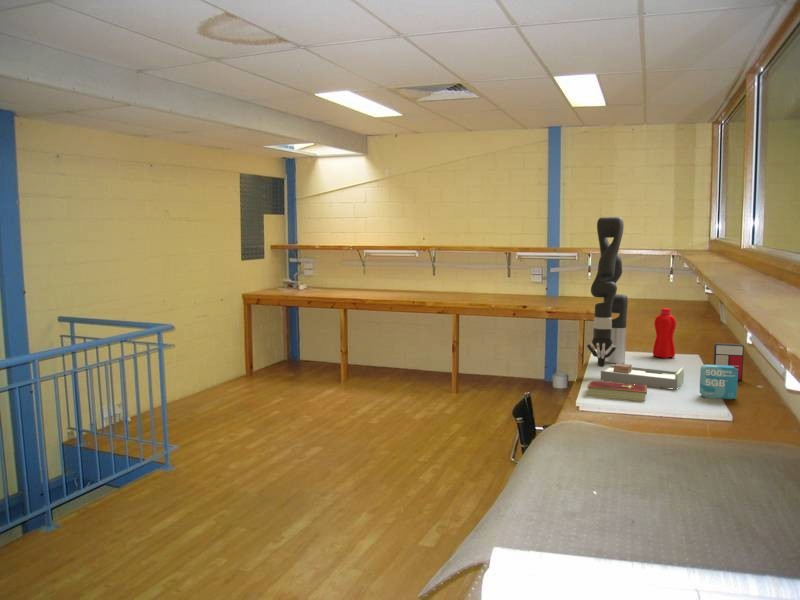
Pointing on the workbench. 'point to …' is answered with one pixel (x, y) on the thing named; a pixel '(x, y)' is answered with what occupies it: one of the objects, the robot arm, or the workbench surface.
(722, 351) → the grey white red block
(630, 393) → the hardcover book
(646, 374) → the box
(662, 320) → the water bottle
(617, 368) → the walnut block
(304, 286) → the workbench surface
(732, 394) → the data package
